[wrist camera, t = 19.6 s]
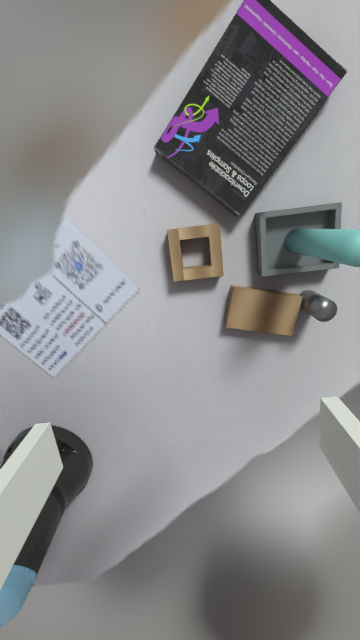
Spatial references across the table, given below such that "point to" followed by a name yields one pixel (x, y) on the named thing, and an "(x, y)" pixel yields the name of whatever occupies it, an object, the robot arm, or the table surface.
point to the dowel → (326, 244)
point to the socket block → (214, 250)
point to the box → (248, 104)
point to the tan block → (262, 310)
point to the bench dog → (318, 306)
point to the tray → (279, 224)
